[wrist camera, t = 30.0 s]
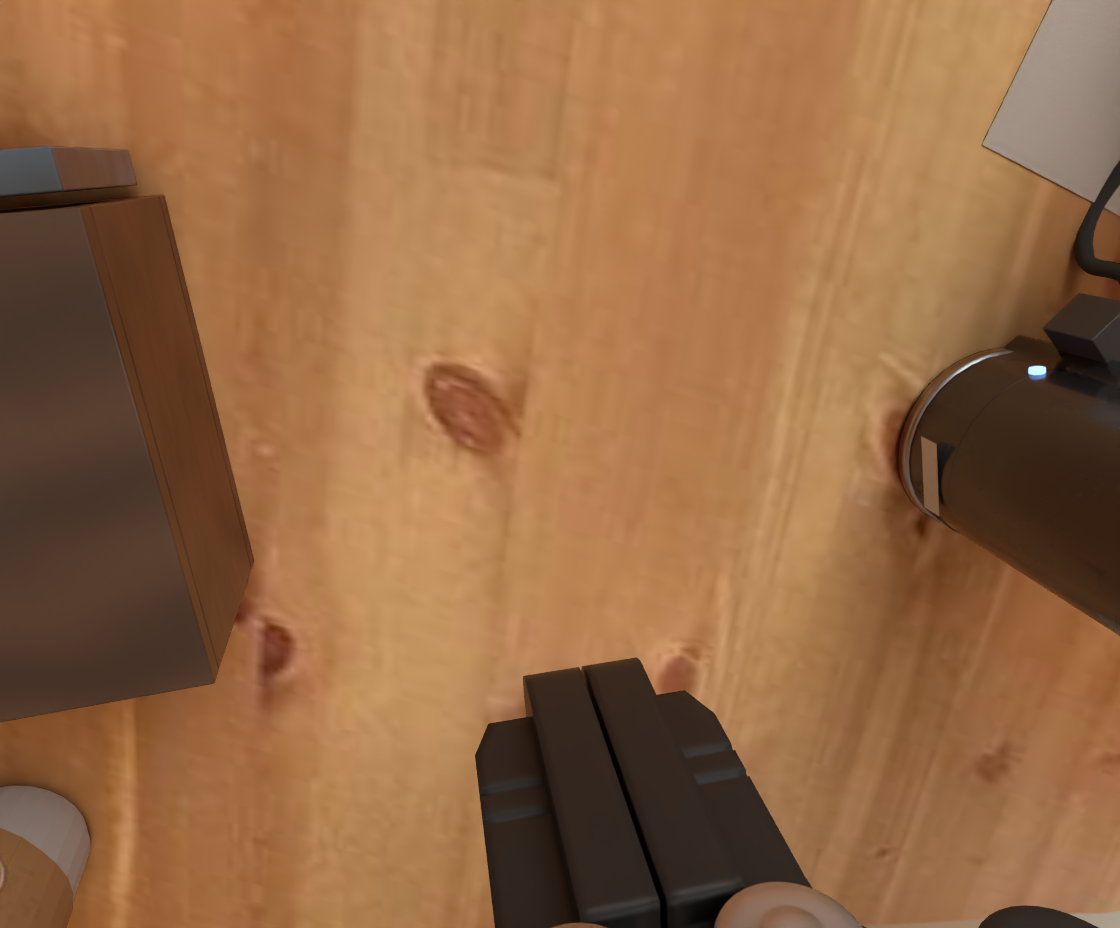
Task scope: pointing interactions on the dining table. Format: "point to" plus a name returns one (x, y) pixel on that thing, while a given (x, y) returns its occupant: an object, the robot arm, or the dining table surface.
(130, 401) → the cabinet
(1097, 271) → the robot arm
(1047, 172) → the architectural model
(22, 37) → the dining table surface
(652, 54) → the dining table surface
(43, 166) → the drawer
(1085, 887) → the dining table surface
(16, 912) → the coffee cup
